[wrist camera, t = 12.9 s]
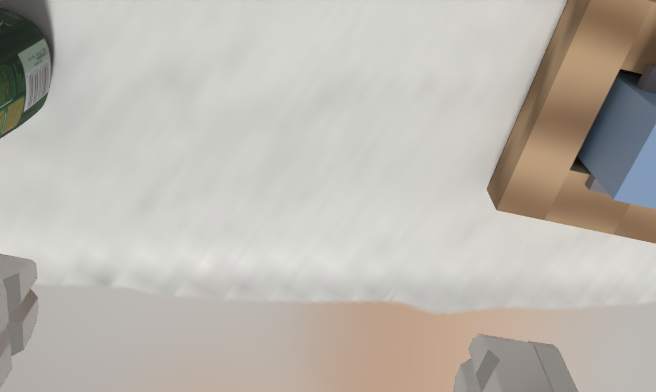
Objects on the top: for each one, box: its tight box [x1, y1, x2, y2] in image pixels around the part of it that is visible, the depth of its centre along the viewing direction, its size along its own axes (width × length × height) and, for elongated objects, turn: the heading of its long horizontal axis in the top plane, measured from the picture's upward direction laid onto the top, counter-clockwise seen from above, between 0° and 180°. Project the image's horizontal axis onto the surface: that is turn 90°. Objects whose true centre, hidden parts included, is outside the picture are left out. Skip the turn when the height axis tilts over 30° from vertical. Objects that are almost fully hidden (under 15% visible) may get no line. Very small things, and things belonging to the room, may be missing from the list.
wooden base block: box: [487, 0, 656, 243], centre depth 41 cm, size 16×13×3 cm
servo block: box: [577, 64, 656, 209], centre depth 39 cm, size 9×4×8 cm, turn 167°
